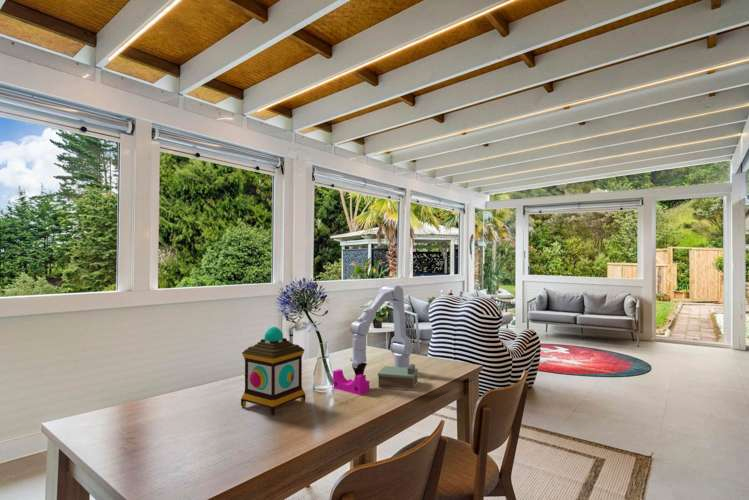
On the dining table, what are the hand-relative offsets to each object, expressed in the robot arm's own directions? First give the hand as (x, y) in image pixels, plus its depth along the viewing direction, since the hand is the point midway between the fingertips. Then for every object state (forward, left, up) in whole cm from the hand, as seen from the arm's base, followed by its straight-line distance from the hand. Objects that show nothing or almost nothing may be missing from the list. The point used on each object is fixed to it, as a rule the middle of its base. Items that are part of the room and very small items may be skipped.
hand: (359, 380), depth 184 cm
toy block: (+4, -2, -3) cm, 6 cm away
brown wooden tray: (-8, +16, -3) cm, 18 cm away
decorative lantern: (+29, -25, -3) cm, 39 cm away
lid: (-8, +16, +2) cm, 18 cm away
